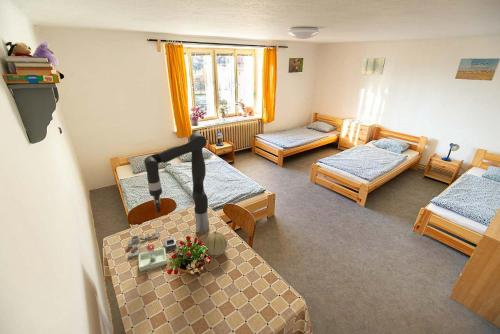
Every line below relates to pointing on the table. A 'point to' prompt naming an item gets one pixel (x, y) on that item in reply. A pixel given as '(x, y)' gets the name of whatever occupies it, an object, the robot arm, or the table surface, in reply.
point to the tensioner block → (170, 244)
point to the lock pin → (151, 253)
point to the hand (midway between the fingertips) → (158, 208)
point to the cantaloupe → (216, 243)
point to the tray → (160, 260)
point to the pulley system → (136, 240)
